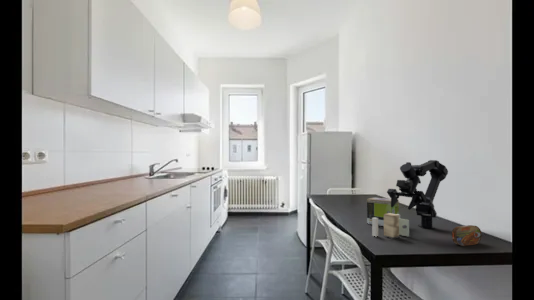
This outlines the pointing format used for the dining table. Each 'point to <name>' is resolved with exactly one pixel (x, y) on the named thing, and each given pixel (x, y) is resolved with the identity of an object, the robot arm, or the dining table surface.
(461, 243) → the tin
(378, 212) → the tea box
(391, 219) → the block
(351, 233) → the dining table surface
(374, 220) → the door frame
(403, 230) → the door leaf
